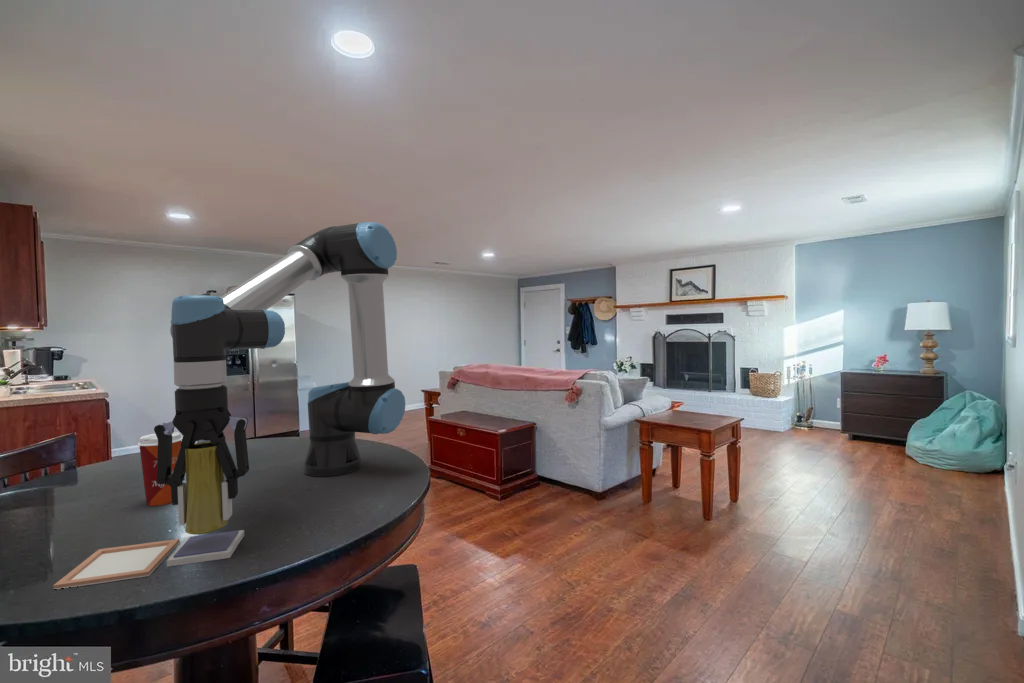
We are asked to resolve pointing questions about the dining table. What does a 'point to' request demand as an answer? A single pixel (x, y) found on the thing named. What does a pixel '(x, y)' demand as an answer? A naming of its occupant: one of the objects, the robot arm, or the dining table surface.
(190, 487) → the vase
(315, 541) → the dining table surface
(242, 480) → the dining table surface
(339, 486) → the dining table surface
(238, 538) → the ink pad
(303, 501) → the dining table surface
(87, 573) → the box
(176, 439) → the coffee cup
